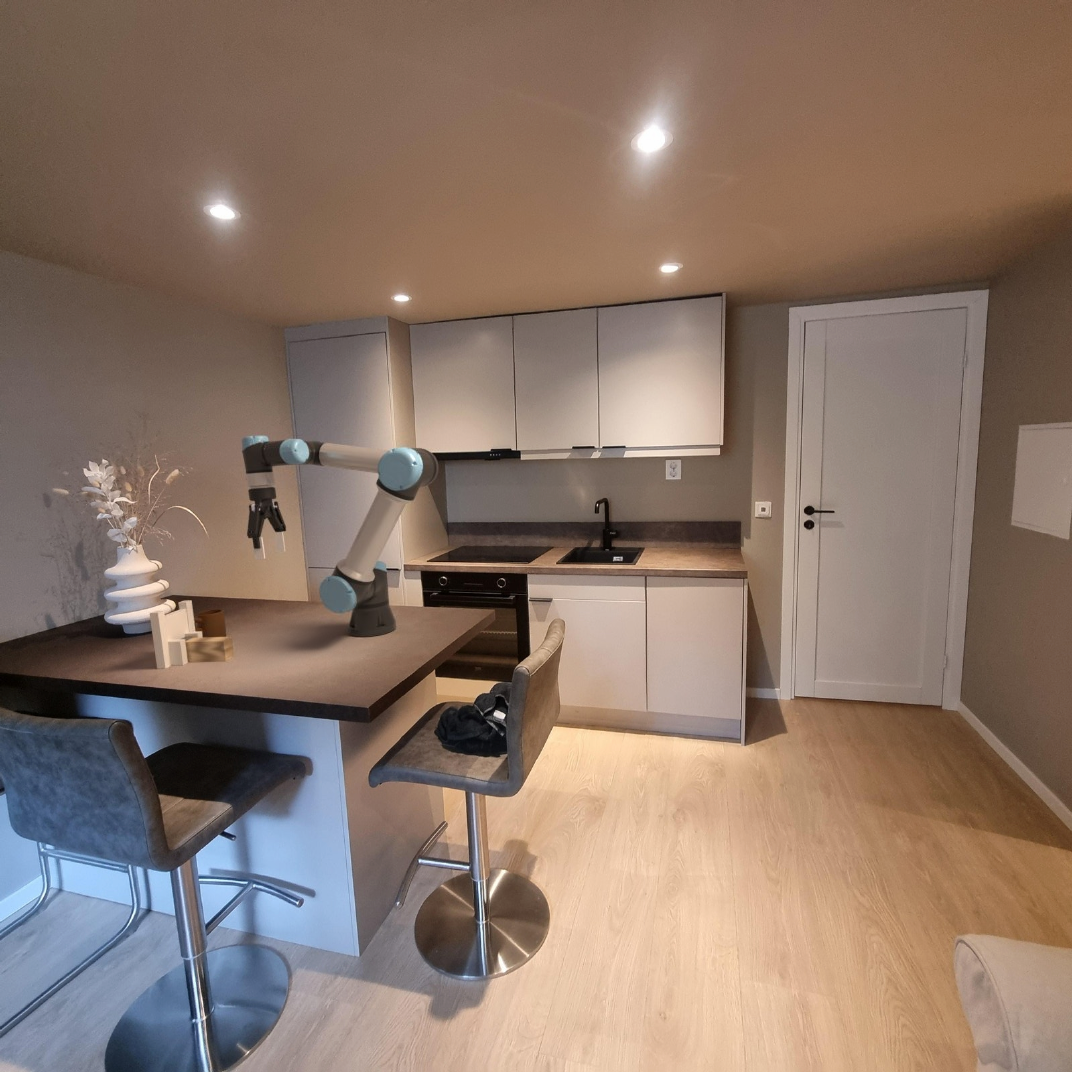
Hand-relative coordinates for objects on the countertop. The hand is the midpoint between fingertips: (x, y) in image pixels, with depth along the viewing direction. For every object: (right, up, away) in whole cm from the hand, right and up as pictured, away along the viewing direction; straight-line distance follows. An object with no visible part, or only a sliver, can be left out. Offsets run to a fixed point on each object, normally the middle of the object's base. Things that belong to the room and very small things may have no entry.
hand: (271, 555), depth 175 cm
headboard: (-20, -30, -11) cm, 37 cm away
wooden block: (-13, -30, -11) cm, 35 cm away
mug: (-23, -28, +5) cm, 37 cm away
